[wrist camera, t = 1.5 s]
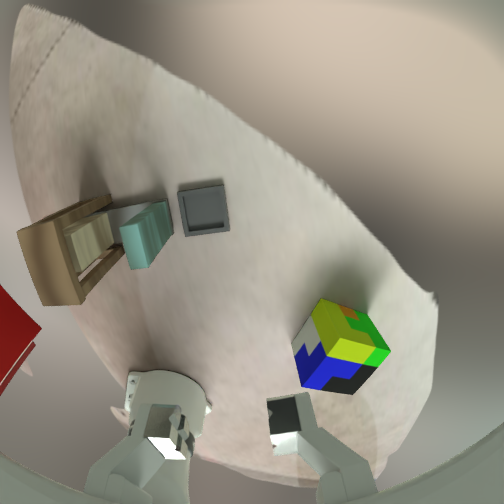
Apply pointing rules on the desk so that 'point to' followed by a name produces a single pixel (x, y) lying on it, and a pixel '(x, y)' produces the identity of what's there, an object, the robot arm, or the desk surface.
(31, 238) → the tunnel
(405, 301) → the desk surface
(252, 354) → the desk surface
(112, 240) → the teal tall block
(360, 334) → the puzzle toy
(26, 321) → the book
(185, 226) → the tray
